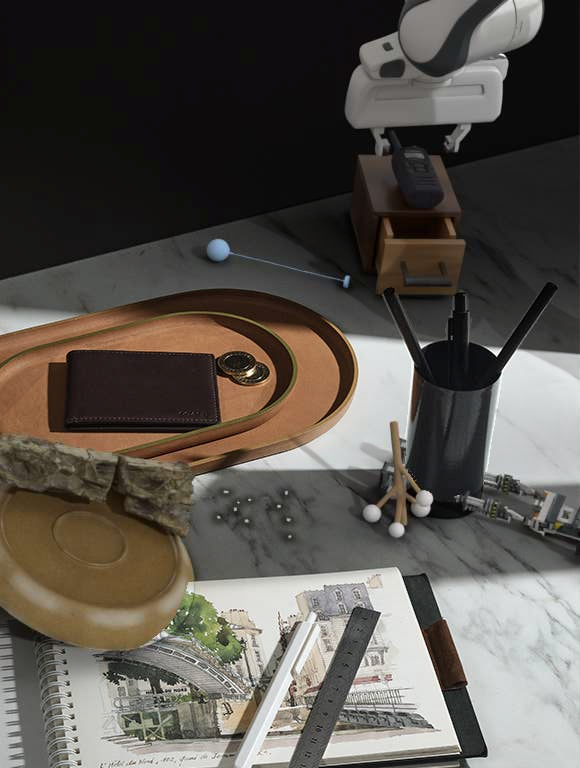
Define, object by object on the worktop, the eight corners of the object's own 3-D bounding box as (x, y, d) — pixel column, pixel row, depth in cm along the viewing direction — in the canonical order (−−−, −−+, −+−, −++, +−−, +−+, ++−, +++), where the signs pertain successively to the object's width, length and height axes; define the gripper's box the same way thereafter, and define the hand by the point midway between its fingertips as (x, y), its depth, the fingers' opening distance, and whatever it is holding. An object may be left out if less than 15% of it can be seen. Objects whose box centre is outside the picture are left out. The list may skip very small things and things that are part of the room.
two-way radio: (409, 188, 165) (382, 122, 175) (400, 216, 169) (373, 149, 179) (450, 190, 166) (420, 124, 176) (440, 217, 170) (411, 151, 179)
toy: (401, 423, 142) (683, 499, 130) (396, 470, 146) (669, 547, 134) (376, 466, 137) (668, 549, 125) (372, 513, 141) (653, 597, 129)
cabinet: (449, 273, 174) (461, 212, 168) (364, 272, 174) (374, 211, 168) (429, 214, 186) (440, 155, 180) (349, 214, 186) (358, 154, 180)
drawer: (462, 316, 165) (473, 264, 160) (382, 315, 165) (391, 264, 160) (435, 236, 180) (444, 187, 175) (361, 236, 180) (369, 187, 175)
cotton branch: (435, 421, 132) (444, 533, 134) (414, 412, 138) (424, 519, 140) (365, 432, 131) (377, 544, 133) (348, 422, 137) (359, 529, 140)
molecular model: (344, 297, 172) (345, 284, 169) (204, 262, 177) (203, 249, 174) (350, 279, 173) (352, 266, 170) (211, 245, 178) (210, 232, 175)
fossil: (178, 450, 136) (216, 476, 127) (158, 515, 138) (194, 545, 129) (-14, 407, 128) (12, 432, 119) (-33, 477, 129) (-9, 507, 120)
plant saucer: (-11, 622, 113) (-20, 646, 115) (233, 636, 122) (220, 658, 123) (-42, 441, 130) (-49, 465, 132) (173, 465, 139) (163, 487, 141)
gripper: (502, 39, 165) (484, 137, 174) (348, 46, 163) (337, 145, 172) (519, 59, 160) (498, 159, 169) (359, 67, 159) (347, 167, 168)
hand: (416, 152), depth 171 cm, fingers open, 8 cm apart
